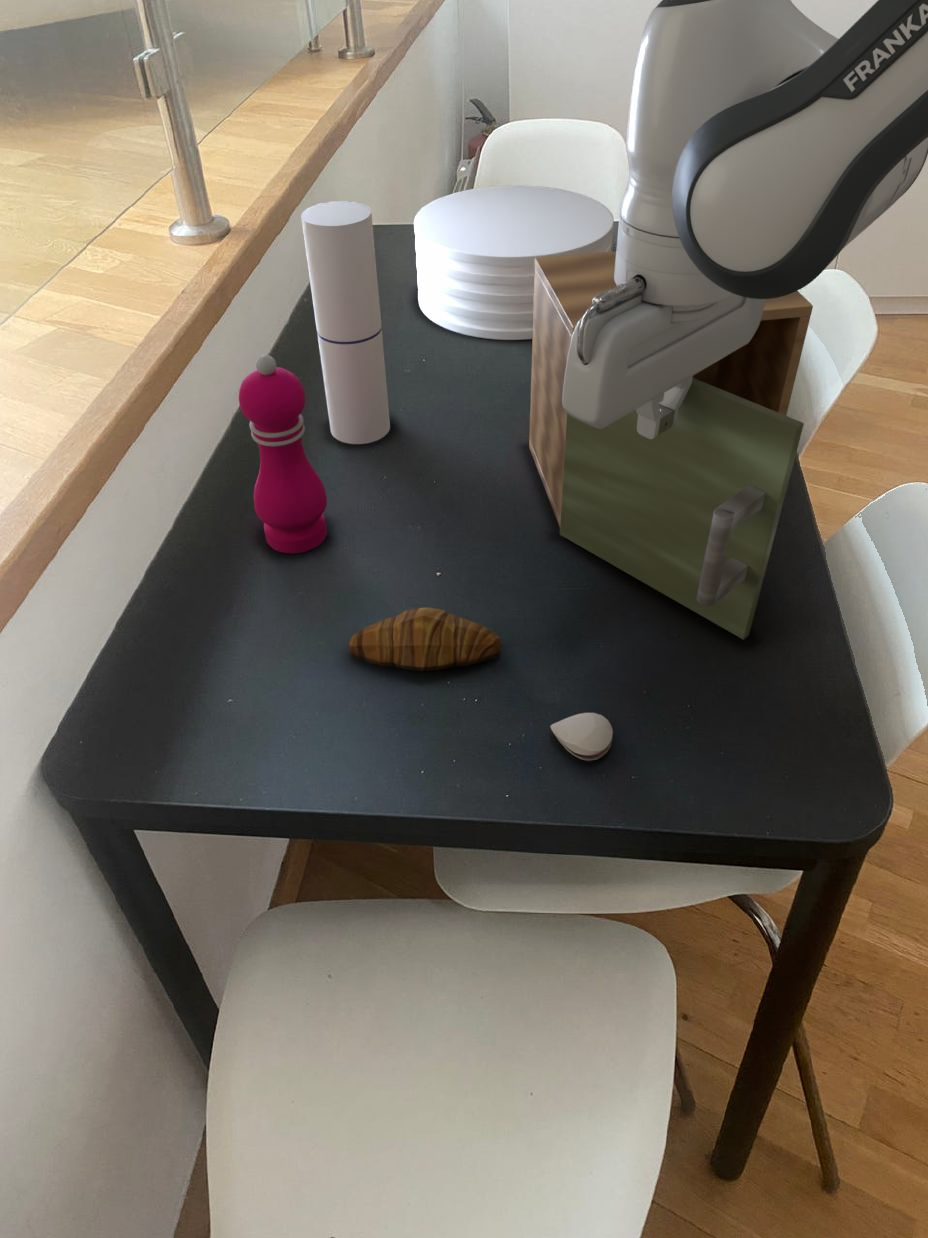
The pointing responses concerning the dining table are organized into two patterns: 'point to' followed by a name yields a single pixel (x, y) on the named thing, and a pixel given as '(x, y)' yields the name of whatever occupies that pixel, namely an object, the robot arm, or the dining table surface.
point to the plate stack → (499, 253)
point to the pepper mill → (283, 460)
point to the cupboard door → (685, 499)
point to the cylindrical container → (348, 318)
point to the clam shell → (584, 735)
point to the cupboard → (746, 373)
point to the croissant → (425, 641)
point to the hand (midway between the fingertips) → (655, 430)
